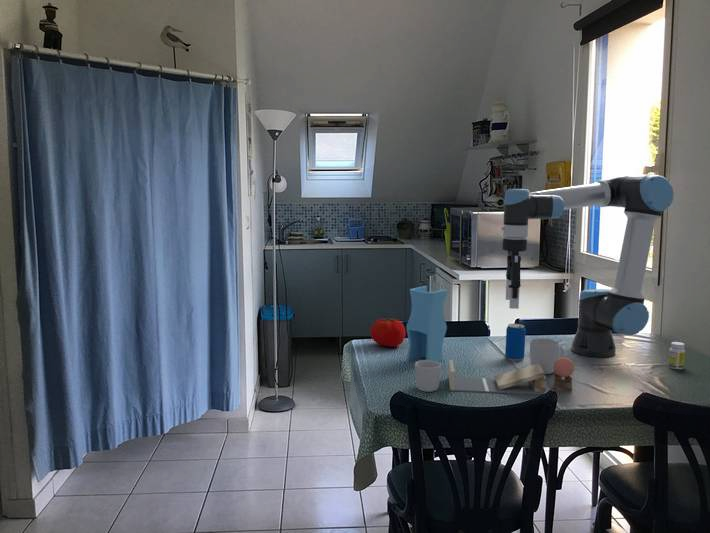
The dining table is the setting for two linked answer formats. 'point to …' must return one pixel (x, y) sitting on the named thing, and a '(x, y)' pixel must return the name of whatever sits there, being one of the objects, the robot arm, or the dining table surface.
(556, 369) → the ball
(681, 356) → the supplement bottle
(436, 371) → the cup
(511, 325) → the beverage can
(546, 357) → the mug
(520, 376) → the ramp
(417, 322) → the vase
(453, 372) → the runway
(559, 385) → the brown block with bumps
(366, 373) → the dining table surface
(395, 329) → the tomato
